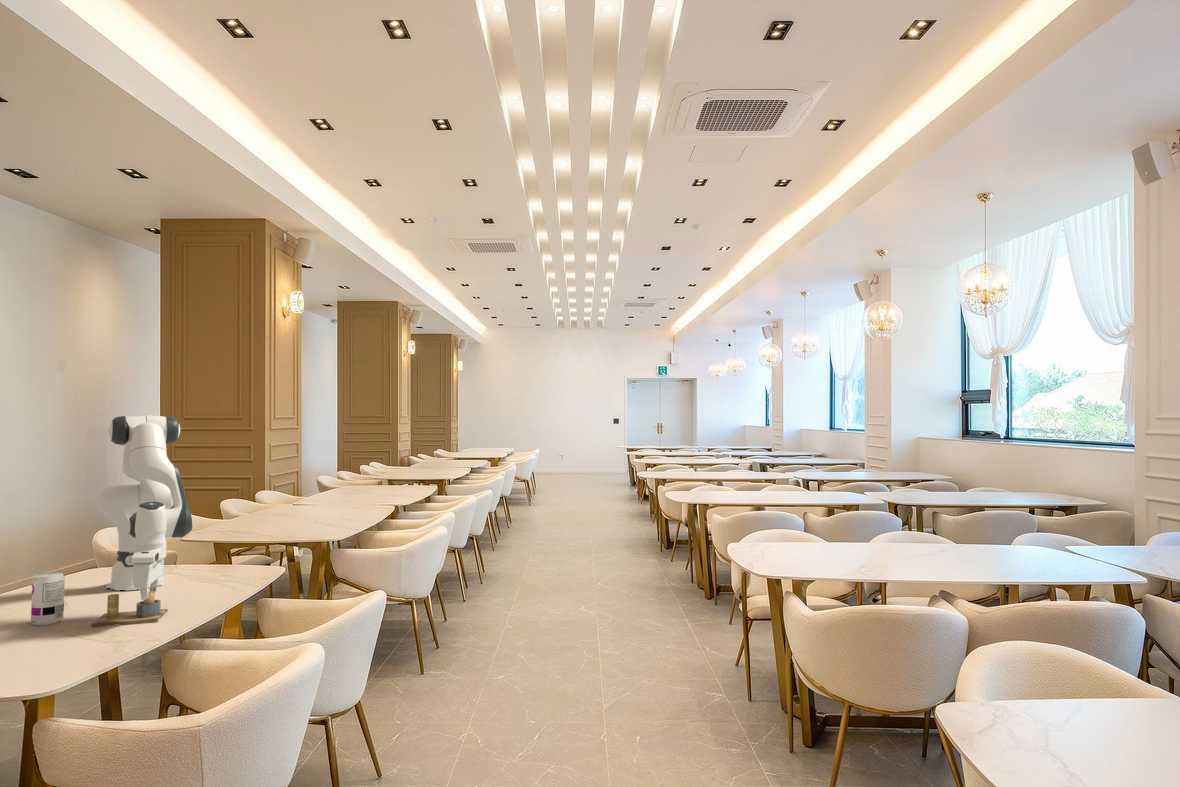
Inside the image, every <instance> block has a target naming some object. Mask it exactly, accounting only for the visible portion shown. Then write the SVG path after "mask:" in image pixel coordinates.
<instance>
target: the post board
mask: <svg viewBox="0 0 1180 787" xmlns="http://www.w3.org/2000/svg"><path fill="white" fill-rule="evenodd" d="M148 593H149V598H148V599H147V600H142V601H143V604H152V603H154V600H155V593H156V592H150V591H148ZM119 605H120V594H119V593H111V594H108V595H107V606H106V607H107V608H106V612H105V613H103V614H101V616H99V617H98V618H97V619H95V620H94V621H93V622H91V623H90V625H91V626H92V627H91V626H90V627H91V628H94V626H96V627H107V626H106V625H110V626H116V625H115V624H123V625H130V624H129V623H137V624H144V623H143V622H150V623H157V622H156V621H158V620H159V619H160V618H161V617H162V616H163V615H164V614H165V613H166V612H167V613H168V608H163V609H161V608H160V614H159V615H156V616H152V617H144V618H140V617H137V616H136V610H134V611H133V610H132V611H121V612H120V611H119V610H120V609H119V608H120V606H119ZM167 613H166V614H167ZM166 614H165V615H166ZM165 615H164V616H165ZM164 616H163V617H164ZM163 617H162V618H163ZM162 618H161V619H162ZM161 619H160V620H161ZM160 620H159V621H160ZM159 621H158V622H159Z"/></svg>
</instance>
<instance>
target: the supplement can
mask: <svg viewBox="0 0 1180 787" xmlns="http://www.w3.org/2000/svg"><path fill="white" fill-rule="evenodd" d="M65 578H66V576H65V575H64V574H63V572H61V571H51V572H42V573H38V574H35V575H34V577H33V579H32V580H31V582H32V583H31V605H30V606H31V609H30V610H31V611H30V613H31V615H30V623H32V625H34V626H46V625H52V623H53V624H58V623H60V622H61V621H62V620H63V619H64V611H65V607H64V606H65V582H66V579H65ZM59 621H60V622H59Z"/></svg>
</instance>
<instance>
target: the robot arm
mask: <svg viewBox="0 0 1180 787" xmlns="http://www.w3.org/2000/svg"><path fill="white" fill-rule="evenodd" d="M107 430H108V431H107V432H108V436H109V438H110V442H111V443H113V444H115V445H119V446H124V447H123V455H122V456H123V458H122V468H121V469H122V473H123V474H124V475H125V476H126V477H128V478H129V479H131V480H133V481H136V482H137V481H138V482H139V484H121V485H120V484H119V485H114V486H109V487H104V488H102V489H101V490H100V491H99V492H98V494H97V495H96V496H97V497H96V498H95V499H96V500H95V501H96V502H95V504H96V507H97V509H98V510H99V511H100V513H102V514H103V515H105V516H107V517H108V518H109V519H110V520H111V521H112V522H113V524H114V525H115V527H116V529H117V535H118V538H117V539H118V550H117V552H116V563H114V564H113V566H112V567H111V577H110V583H109V584H106V586H105V589H106V588H110V590H113V589H114V590H113V591H120V590H125V591H134V590H135V591H136V590H137V589H138V590H139V593H140V600H141V601H144V600H147V599H148V598H149V593H148V592H155V593H156V592H157V591H158V586H159V587H160V586H163V585H164V581H165V575H164V571H165V568H164V567H165V566H164V565H165V560H164V559H165V558H166V557H167V539H168V538H172V539H173V538H175V539H176V538H177V539H178V538H184V537H186V536H188V534H190V533H191V531H192V530H193V528H194V517H193V514H192V512H191V510H190V506H189V503H188V499H187V494H186V490H185V487H184V484H183V483H184V482H183V479H182V476H181V473H180V470H179V468H178V466H177V465H175V464H173V463H172V462H171V461H170V459H169V458H168V454H167V445H171V444H174V443H175V442H177V441H178V440H179V436H180V434H181V425H180V423H179V420H178V419H177V418H176V417H173V416H169V415H166V416H162V415H154V414H153V415H152V414H146V415H129V416H126V415H122V416H116V417H114V418H113V419H111V422H110V424H109V426H108V428H107ZM172 507H173V508H172Z"/></svg>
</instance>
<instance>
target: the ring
mask: <svg viewBox="0 0 1180 787" xmlns="http://www.w3.org/2000/svg"><path fill="white" fill-rule="evenodd" d="M143 601H144V600H141V601H138V602H136V610H135V611H136V616H137V617H140V618H144V617H152V616H156V615H159V614H160V609H161V602H162V601H161V600H160V599H154V603H152V604H143Z"/></svg>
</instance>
